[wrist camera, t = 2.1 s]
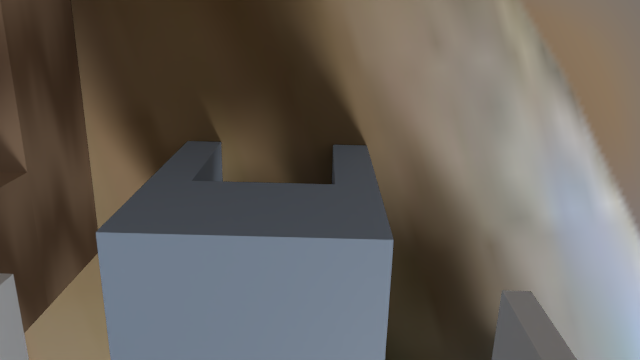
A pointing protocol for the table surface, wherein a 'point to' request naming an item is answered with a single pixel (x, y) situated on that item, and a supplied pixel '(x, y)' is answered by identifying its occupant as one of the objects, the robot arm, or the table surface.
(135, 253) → the slotted block
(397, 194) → the table surface
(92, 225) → the notched rail
